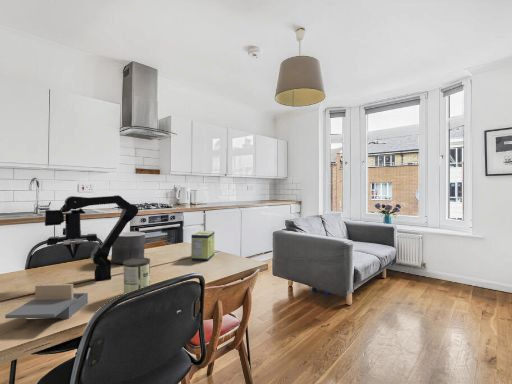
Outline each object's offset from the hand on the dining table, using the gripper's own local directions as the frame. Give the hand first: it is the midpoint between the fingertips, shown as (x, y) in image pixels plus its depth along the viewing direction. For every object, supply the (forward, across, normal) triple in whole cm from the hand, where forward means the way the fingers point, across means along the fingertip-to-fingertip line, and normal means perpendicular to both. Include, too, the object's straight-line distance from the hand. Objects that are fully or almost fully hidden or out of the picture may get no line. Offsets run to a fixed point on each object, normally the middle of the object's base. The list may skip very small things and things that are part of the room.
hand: (73, 258), depth 126 cm
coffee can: (+12, -24, +26) cm, 37 cm away
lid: (+8, +6, +36) cm, 37 cm away
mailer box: (+12, +3, +29) cm, 31 cm away
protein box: (+12, -67, -15) cm, 70 cm away
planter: (+12, -25, -29) cm, 40 cm away
